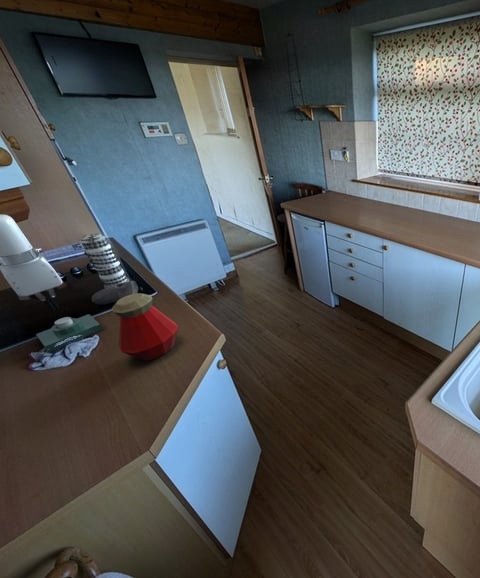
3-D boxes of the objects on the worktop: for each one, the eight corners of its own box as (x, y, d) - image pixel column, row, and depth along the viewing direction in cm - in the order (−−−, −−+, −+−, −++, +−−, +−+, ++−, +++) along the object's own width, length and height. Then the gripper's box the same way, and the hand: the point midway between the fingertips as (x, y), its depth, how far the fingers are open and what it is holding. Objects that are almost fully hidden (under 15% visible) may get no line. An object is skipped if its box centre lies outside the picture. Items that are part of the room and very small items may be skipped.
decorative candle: (117, 296, 123) (86, 240, 111) (101, 293, 126) (69, 238, 113) (138, 286, 131) (111, 232, 118) (123, 283, 133) (95, 230, 120)
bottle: (169, 330, 103) (145, 281, 93) (193, 341, 98) (171, 290, 88) (118, 359, 91) (84, 306, 81) (143, 373, 86) (110, 318, 76)
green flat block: (49, 352, 94) (40, 341, 92) (40, 339, 99) (32, 329, 97) (103, 329, 104) (96, 319, 102) (92, 319, 109) (86, 309, 107)
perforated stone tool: (95, 309, 115) (86, 294, 111) (96, 304, 118) (87, 289, 115) (141, 297, 123) (134, 282, 119) (141, 292, 126) (134, 278, 123)
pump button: (59, 330, 97) (56, 325, 96) (56, 326, 99) (52, 321, 98) (75, 324, 100) (72, 319, 99) (71, 320, 102) (68, 315, 101)
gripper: (49, 246, 94) (81, 294, 103) (-22, 264, 83) (20, 315, 93) (56, 251, 90) (88, 300, 100) (-18, 270, 80) (26, 323, 89)
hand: (55, 308), depth 96 cm, fingers closed
